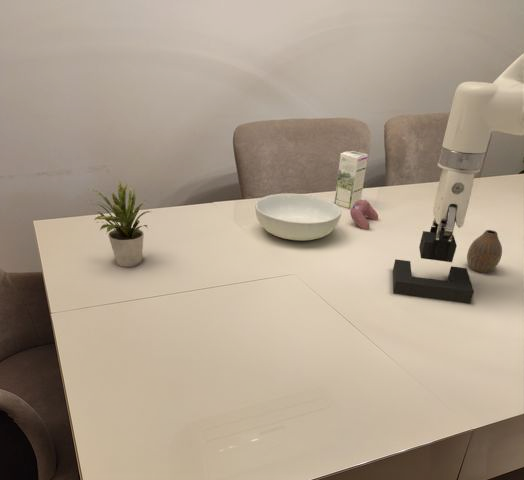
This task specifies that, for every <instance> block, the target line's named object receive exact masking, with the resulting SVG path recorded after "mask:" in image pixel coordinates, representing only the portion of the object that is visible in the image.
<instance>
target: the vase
mask: <svg viewBox="0 0 524 480" xmlns="http://www.w3.org/2000/svg"><path fill="white" fill-rule="evenodd" d="M502 255H503V246H502V243H501V241H500V239H499V236H498V232H497V231H496V230H492V229H486V230H485V231H484V232H483V233H482V234H481V235H480V236H478V237H477V238H475V239H474V240H473V241H472V243H471V244H470V246H469V247H468V250H467V254H466V262H467V263H466V264H468V267H469V269H471V270H473V271H475V272H476V273H477V272H478V273H485V274H486V273H489V272H492V271H493V270H494V269H496V268H497V266H498V265H499V263H500V261H501V259H502Z"/></svg>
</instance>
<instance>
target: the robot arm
mask: <svg viewBox="0 0 524 480" xmlns="http://www.w3.org/2000/svg"><path fill="white" fill-rule="evenodd" d="M447 120H448V121H447V125H446V129H445V132H444V137H443V141H442V145H441V149H440V152H439V157H438V161H437V167H439V168H440V169H442V170H441V173H440V178H439V181H438V185H437V189H436V193H435V196H434V197H435V198H434V201H433V209H432V210H433V211H432V212H433V216H434V217H433V220H432V224H431V226H430V230H429V232H435V233H437V234H436V239H434V240H433V244H432V248H431V251H430V255H429V258H430V259H434V260H433V261H437V260H442V261H441V262H445V260H446V259H447V255H448V251H449V248H450V244H451V240H452V235H454V229H455V225H456V226H457V227H458V228H462V227H463V226H464V223H465V220H466V215H467V211H468V208H469V203H470V199H471V196H472V191H473V187H474V180H475V174H476V173H480V172H481V170H482V166H483V163H484V159H485V156H486V152H487V149H488V147H489V146H488V145H489V142H490V139H491V135H492V132H501V133H506V134H509V135H514V136H524V52H523V53H522V54H521V55H519V56H518V57H517V58H516V59H515V60H514V61H513V62H512V63H511V64H510V65H509V66H508V67H507V68H506V69H505V70H504V71H502V73H501V74H500V75H499V76H497V78H496V79H495V80H494V81H493V82H492V83H490V82H485V81H484V82H483V81H463V82H461V83H460V84H459V85H458V86H457V87H456V90H455V91H454V96H453V99H452V104H451V108H450V112H449V115H448V119H447ZM430 259H429V260H430Z"/></svg>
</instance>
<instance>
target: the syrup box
mask: <svg viewBox="0 0 524 480" xmlns="http://www.w3.org/2000/svg"><path fill="white" fill-rule="evenodd" d="M368 157H369V154H368V153H364V152H360V151H353V150H347V151H344V152H341V153H340V155H339V164H338V172H337V180H336V189H335V195H334V196H335V198H334V203H335V204H336V205H338V206H339V207H343V208H346V209H350V210H351V208H352V207H353V205H354V203H355V202H356V201H359V200H362V196H363V190H364V189H363V188H364V183H365V177H366V170H367V164H368Z"/></svg>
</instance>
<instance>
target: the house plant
mask: <svg viewBox="0 0 524 480" xmlns="http://www.w3.org/2000/svg"><path fill="white" fill-rule="evenodd" d="M117 187H118V189H117V190H118V193H117V194H118V197H117V195H116V194H115V193H114V192H112V193H111V196H112V200H113V203H114V204H111V202H110V200H109V199H108V198H107V197H106V196H105V195H103V194H102V193H101V192H99V191H98V190H95V189H91V188H88V191H93V192H95V193H96V194H97V195H99V196H100V197H101V198H102V199H103V200H104V201H105V203H106V204H107V205H106V204H104V203H102V202H99V201H97V200H91V202H92V203H93V202H94V203H93V204H92V203H91V206H94V205H97V206H99V207H101V208H103V209H104V211H106V213H108V215H105V214H103V213H102V212H101V211H98V210H95V209H92V211H93V212H96V213H98V214H99V215H98V216H97V217H94V219H93V221H96V220H105V221H106V222H105V221H102V223H104V224H102V225H101V226H100V229H99V231H101V230H103V229H105V228H106V233H107V234H108V235H107V236H108V238H109V243H110V245H111V249H112V251H113V255H114V256H113V257H114V259H115V262H116V264H117V265H118V266H120V267H122V268H123V267H124V268H132V267H136V266H138V265H140V264H141V262H142V261H143V248H144V235H145V234H144V231H143V230H141V229H140V228H142V227H145V228H148V225H147V224H144V225H139V224H140V220H139V219H140V218H141V217H142V216H143V215H145V214H147V213H151V211H150V210H147V211H144V212H142V213H141V214H139V215H138V213H139V211H140V209H141V207H142V206H143V205H144V203H148V202H149V201H146V200H147V199H148V197H146V198H145V199H144V200H143V202H142V203H140V204H139V205H138V206H137V207H136V208H135V204H136V199H137V198H136V197H137V196H136V189H135V188H134V190H133V191H132V187H131V186H129V191H128V201H127V206H126V199H127V198H126V197H127V188H128V184H126V185H124V186H123V185H122V182H121V181H120V180H118V186H117ZM85 190H87V188H85ZM84 202H87V200H86V201H84ZM97 203H99V204H97ZM111 212H112V214H113V215H114V216H113V215H112V214H111ZM95 223H98V221H96V222H95Z"/></svg>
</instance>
